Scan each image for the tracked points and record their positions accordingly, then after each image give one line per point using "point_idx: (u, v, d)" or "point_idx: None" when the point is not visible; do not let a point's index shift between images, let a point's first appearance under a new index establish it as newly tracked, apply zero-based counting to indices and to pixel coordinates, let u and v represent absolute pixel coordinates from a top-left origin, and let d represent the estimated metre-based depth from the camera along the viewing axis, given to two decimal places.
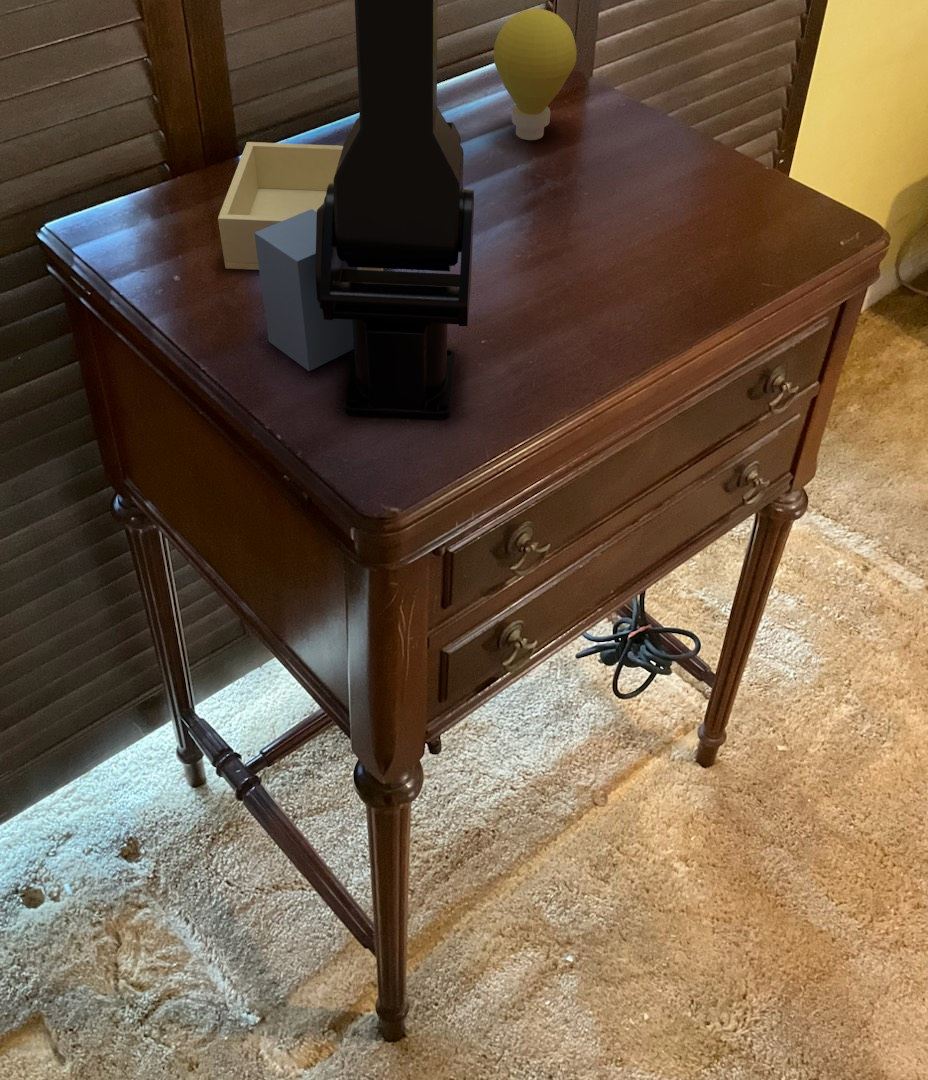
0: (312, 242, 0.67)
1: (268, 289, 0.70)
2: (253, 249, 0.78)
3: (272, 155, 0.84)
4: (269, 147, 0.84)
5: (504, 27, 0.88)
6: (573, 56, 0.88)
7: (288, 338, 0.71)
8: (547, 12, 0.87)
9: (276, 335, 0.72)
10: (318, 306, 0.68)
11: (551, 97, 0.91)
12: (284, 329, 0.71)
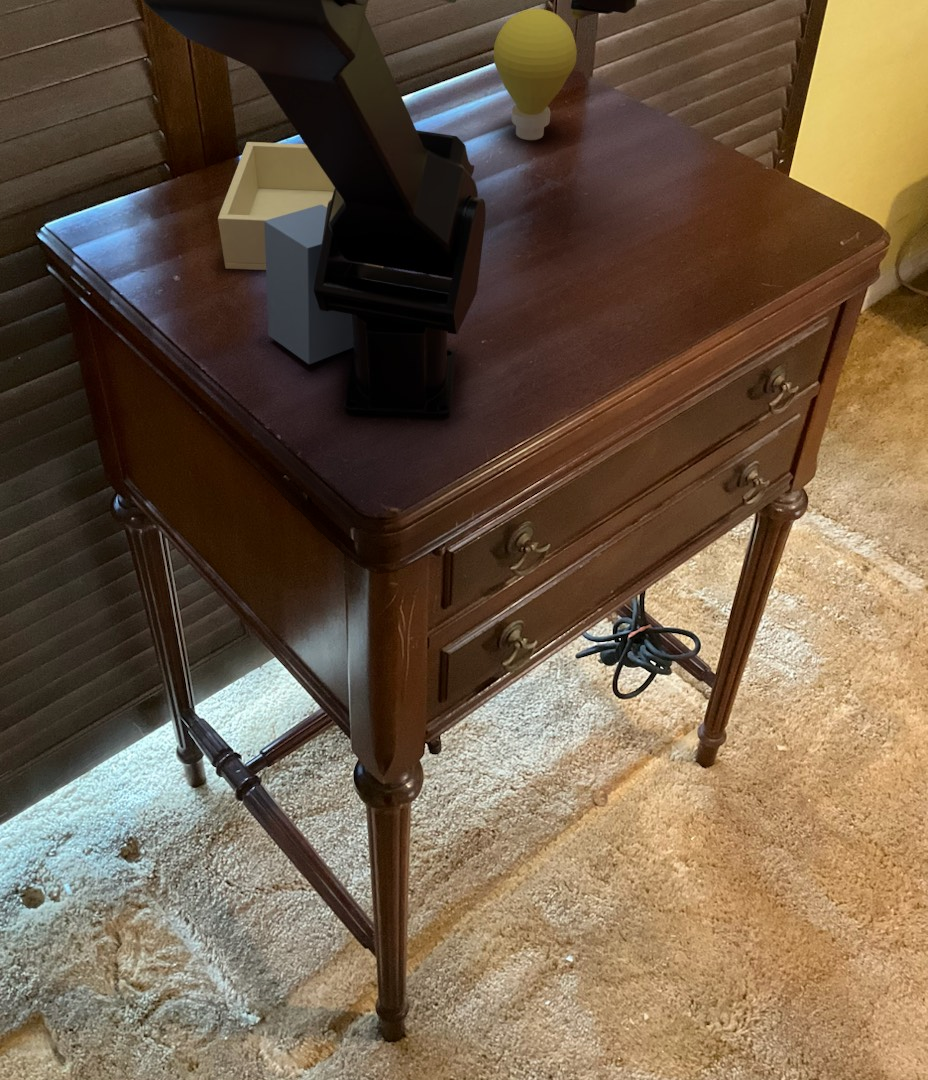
0: (322, 232, 0.67)
1: (273, 280, 0.70)
2: (253, 249, 0.78)
3: (272, 155, 0.84)
4: (269, 147, 0.84)
5: (504, 27, 0.88)
6: (573, 56, 0.88)
7: (290, 331, 0.71)
8: (547, 12, 0.87)
9: (277, 327, 0.72)
10: None
11: (551, 97, 0.91)
12: (286, 321, 0.70)
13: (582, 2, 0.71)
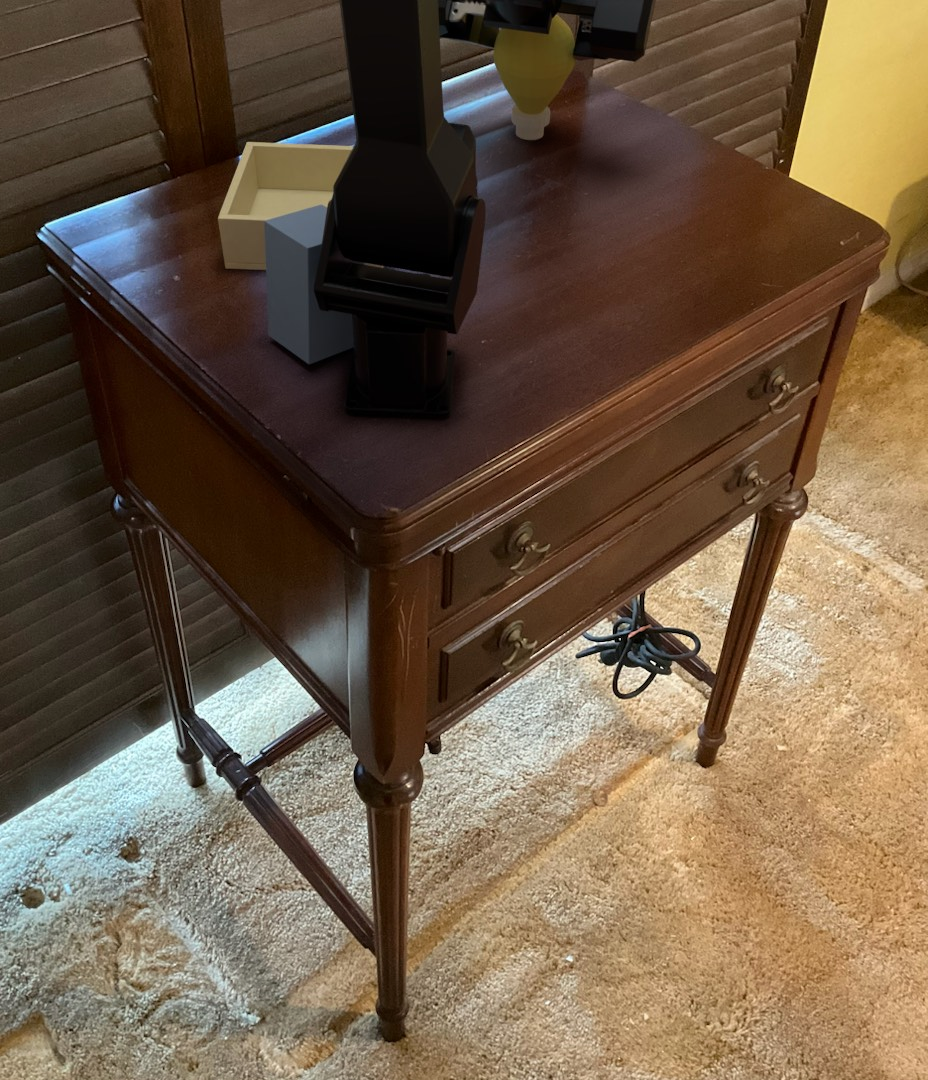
0: (322, 232, 0.67)
1: (273, 280, 0.70)
2: (253, 249, 0.78)
3: (272, 155, 0.84)
4: (269, 147, 0.84)
5: None
6: None
7: (290, 331, 0.70)
8: None
9: (277, 328, 0.72)
10: None
11: (551, 97, 0.91)
12: (286, 321, 0.70)
13: (597, 52, 0.82)
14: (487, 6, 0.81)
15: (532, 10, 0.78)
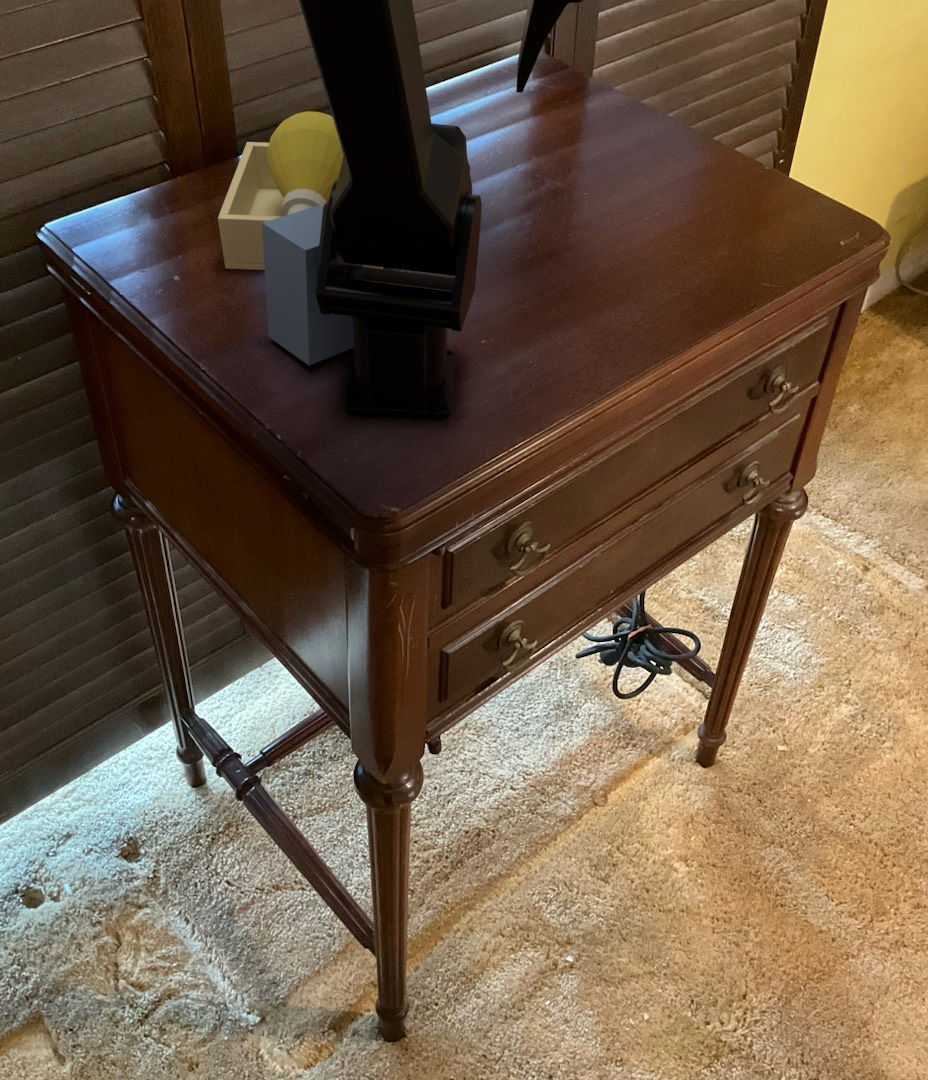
0: None
1: (272, 282, 0.70)
2: (253, 249, 0.78)
3: None
4: None
5: None
6: None
7: (290, 332, 0.71)
8: None
9: (277, 329, 0.72)
10: None
11: (333, 176, 0.78)
12: (286, 322, 0.70)
13: None
14: None
15: None
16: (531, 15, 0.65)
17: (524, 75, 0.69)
